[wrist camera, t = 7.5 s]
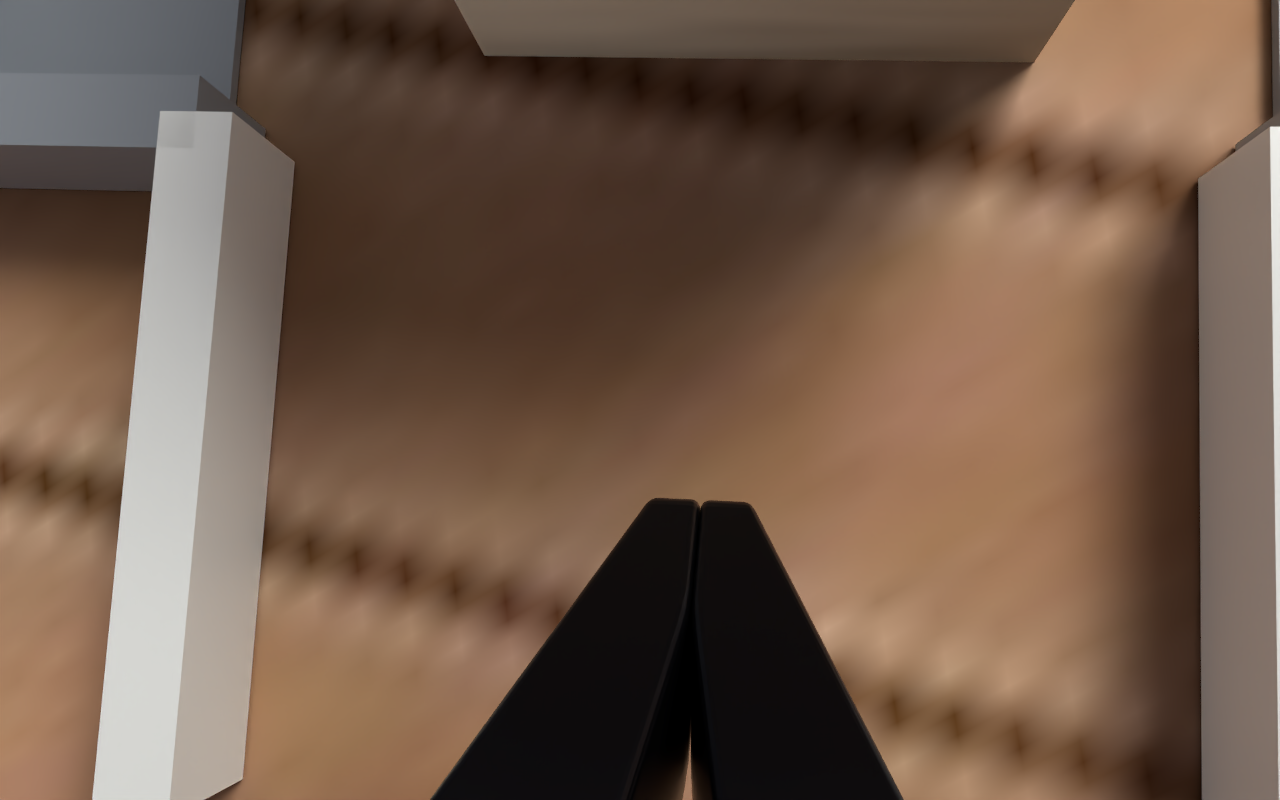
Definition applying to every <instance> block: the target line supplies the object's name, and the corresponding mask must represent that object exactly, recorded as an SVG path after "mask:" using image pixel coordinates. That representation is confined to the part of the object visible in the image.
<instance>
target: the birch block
mask: <svg viewBox="0 0 1280 800" xmlns="http://www.w3.org/2000/svg"><path fill="white" fill-rule="evenodd" d="M454 1H455V2H456V4H457V6H458V8H459V10H460V12H461V14H462V15H463V17H464V19H465V21H466V23H467V25H468V26H469V28H470V30H471V32H472V34H473V36H474V37H475V39H476V41H477V43H478V45H479V47H480V48H481V50H482V52H483V54H484V56H540V57H624V58H708V59H792V60H875V61H959V62H1034V61H1035V60H1036V58H1037V57H1038V55H1039V54H1040V52H1041V51H1042V49H1043V48H1044V46H1045V45H1046V43H1047V42H1048V40H1049V39H1050V37H1051V36H1052V34H1053V33H1054V31H1055V30H1056V28H1057V27H1058V25H1059V24H1060V22H1061V20H1062V19H1063V17H1064V16H1065V14H1066V13H1067V11H1068V10H1069V8H1070V7H1071V5H1072V4H1073V2H1074V1H1075V0H454Z"/></svg>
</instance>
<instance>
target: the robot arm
mask: <svg viewBox="0 0 1280 800" xmlns="http://www.w3.org/2000/svg"><path fill="white" fill-rule="evenodd" d="M690 738H691V779H692V799H693V800H904V799H903V797H902V796H901V794H900V792H899V790H898V788H897V786H896V784H895V782H894V780H893V778H892V776H891V774H890V772H889V770H888V768H887V766H886V764H885V762H884V760H883V759H882V757H881V755H880V753H879V751H878V749H877V747H876V745H875V743H874V741H873V739H872V737H871V735H870V733H869V731H868V729H867V727H866V725H865V723H864V721H863V720H862V718H861V716H860V714H859V712H858V710H857V708H856V706H855V704H854V702H853V700H852V698H851V696H850V694H849V692H848V690H847V688H846V686H845V684H844V683H843V681H842V679H841V677H840V675H839V673H838V671H837V669H836V667H835V665H834V663H833V661H832V659H831V657H830V655H829V653H828V651H827V649H826V647H825V646H824V644H823V642H822V640H821V638H820V636H819V634H818V632H817V630H816V628H815V626H814V624H813V622H812V620H811V618H810V616H809V614H808V612H807V610H806V609H805V607H804V605H803V603H802V601H801V599H800V597H799V595H798V593H797V591H796V589H795V587H794V585H793V583H792V581H791V579H790V577H789V575H788V573H787V572H786V570H785V568H784V566H783V564H782V562H781V560H780V558H779V556H778V554H777V552H776V550H775V548H774V546H773V544H772V542H771V540H770V538H769V536H768V535H767V533H766V531H765V529H764V527H763V525H762V523H761V521H760V519H759V517H758V515H757V513H756V511H755V510H754V508H753V507H752V506H751V505H750V504H748V503H746V502H732V501H712V500H710V501H706V502H704V503H703V504H702V506H701V510H700V506H699V504H698V503H697V502H696V501H695V500H691V499H669V498H654V499H652V500H650V501H649V502H648V503H647V504H646V505H645V506H644V508H643V509H642V510H641V512H640V513H639V514H638V516H637V517H636V518H635V520H634V521H633V523H632V524H631V525H630V527H629V528H628V529H627V531H626V532H625V533H624V535H623V536H622V538H621V539H620V540H619V542H618V543H617V544H616V546H615V547H614V549H613V550H612V551H611V553H610V554H609V555H608V557H607V558H606V559H605V561H604V562H603V564H602V565H601V566H600V568H599V569H598V570H597V572H596V573H595V575H594V576H593V577H592V579H591V580H590V581H589V583H588V584H587V585H586V587H585V588H584V590H583V591H582V592H581V594H580V595H579V596H578V598H577V599H576V600H575V602H574V603H573V605H572V606H571V607H570V609H569V610H568V611H567V613H566V614H565V616H564V617H563V618H562V620H561V621H560V622H559V624H558V625H557V626H556V628H555V629H554V631H553V632H552V633H551V635H550V636H549V637H548V639H547V640H546V642H545V643H544V644H543V646H542V647H541V648H540V650H539V651H538V652H537V654H536V655H535V657H534V658H533V659H532V661H531V662H530V663H529V665H528V666H527V667H526V669H525V670H524V672H523V673H522V674H521V676H520V677H519V678H518V680H517V681H516V683H515V684H514V685H513V687H512V688H511V689H510V691H509V692H508V693H507V695H506V696H505V698H504V699H503V700H502V702H501V703H500V704H499V706H498V707H497V709H496V710H495V711H494V713H493V714H492V715H491V717H490V718H489V719H488V721H487V722H486V724H485V725H484V726H483V728H482V729H481V730H480V732H479V733H478V734H477V736H476V737H475V739H474V740H473V741H472V743H471V744H470V745H469V747H468V748H467V750H466V751H465V752H464V754H463V755H462V756H461V758H460V759H459V760H458V762H457V763H456V765H455V766H454V767H453V769H452V770H451V771H450V773H449V774H448V776H447V777H446V778H445V780H444V781H443V782H442V784H441V785H440V786H439V788H438V789H437V791H436V792H435V793H434V795H433V796H432V797H431V799H430V800H682V799H683V793H684V787H685V781H686V774H687V768H688V761H689V749H690Z"/></svg>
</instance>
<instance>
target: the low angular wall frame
mask: <svg viewBox="0 0 1280 800" xmlns="http://www.w3.org/2000/svg"><path fill="white" fill-rule="evenodd" d="M245 1H246V0H0V188H22V189H68V190H115V191H152V198H151V208H150V218H149V228H148V239H147V249H146V259H145V269H144V279H143V289H142V300H141V310H140V320H139V330H138V340H137V350H136V360H135V371H134V381H133V391H132V401H131V411H130V421H129V432H128V442H127V452H126V462H125V472H124V482H123V492H122V503H121V513H120V523H119V533H118V543H117V553H116V563H115V574H114V584H113V594H112V604H111V614H110V624H109V635H108V645H107V655H106V665H105V675H104V685H103V695H102V706H101V716H100V726H99V736H98V746H97V756H96V767H95V777H94V787H93V797H92V800H205V799H207V798H209V797H210V796H212V795H214V794H216V793H218V792H220V791H222V790H223V789H225V788H227V787H229V786H231V785H233V784H235V783H237V782H238V781H240V780H242V779H243V770H244V758H245V746H246V734H247V722H248V710H249V699H250V687H251V675H252V663H253V651H254V639H255V628H256V616H257V604H258V592H259V580H260V568H261V557H262V545H263V533H264V521H265V509H266V497H267V486H268V474H269V462H270V450H271V438H272V426H273V415H274V403H275V391H276V379H277V367H278V355H279V344H280V332H281V320H282V308H283V296H284V284H285V273H286V261H287V249H288V237H289V225H290V213H291V202H292V190H293V178H294V166H295V162H294V161H293V160H292V159H291V158H289V157H288V156H287V155H286V154H284V153H283V152H282V151H281V150H279V149H278V148H277V147H276V146H274V145H273V144H272V143H271V142H269V141H268V140H267V139H266V138H265V131H266V129H265V128H264V127H262V126H261V125H260V124H259V123H257V122H256V121H255V120H254V119H253V118H251V117H250V116H249V115H248V114H247V113H245V112H244V111H243V110H242V109H240V108H239V107H238V106H237V105H236V100H237V89H238V78H239V67H240V56H241V45H242V34H243V23H244V12H245ZM1271 6H1272V80H1273V117H1272V118H1271V119H1269V120H1268V121H1267V122H1265V123H1264V124H1262V125H1261V126H1260V127H1258V128H1257V129H1256V130H1254V131H1253V132H1252V133H1250V134H1249V135H1248V136H1246V137H1245V138H1244V139H1242V140H1241V141H1240V142H1238V143H1237V144H1236V152H1234V153H1233V154H1232V155H1230V156H1229V157H1227V158H1226V159H1225V160H1223V161H1222V162H1221V163H1219V164H1218V165H1216V166H1215V167H1214V168H1212V169H1211V170H1210V171H1208V172H1207V173H1205V174H1204V175H1203V176H1201V177H1200V178H1199V179H1198V234H1199V403H1200V571H1201V740H1202V800H1280V0H1271Z"/></svg>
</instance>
